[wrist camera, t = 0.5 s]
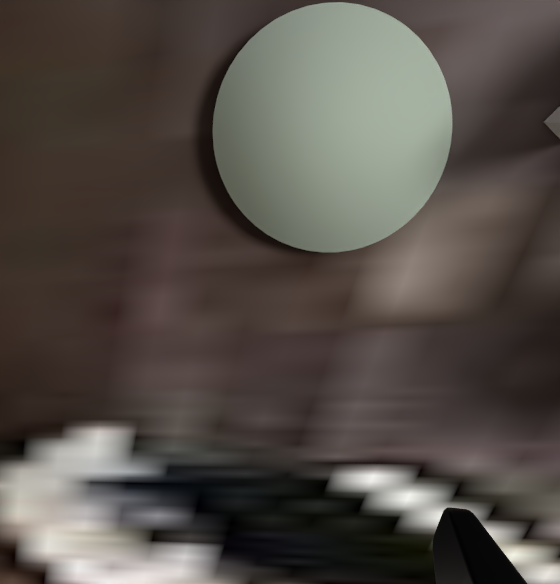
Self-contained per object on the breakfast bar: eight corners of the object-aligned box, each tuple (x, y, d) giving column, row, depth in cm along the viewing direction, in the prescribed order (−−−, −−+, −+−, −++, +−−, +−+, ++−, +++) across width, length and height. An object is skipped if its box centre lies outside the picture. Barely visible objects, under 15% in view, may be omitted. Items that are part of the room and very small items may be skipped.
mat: (441, 239, 21) (448, 245, 20) (230, 252, 22) (227, 258, 21) (449, -5, 18) (457, -11, 17) (202, 19, 19) (197, 15, 18)
